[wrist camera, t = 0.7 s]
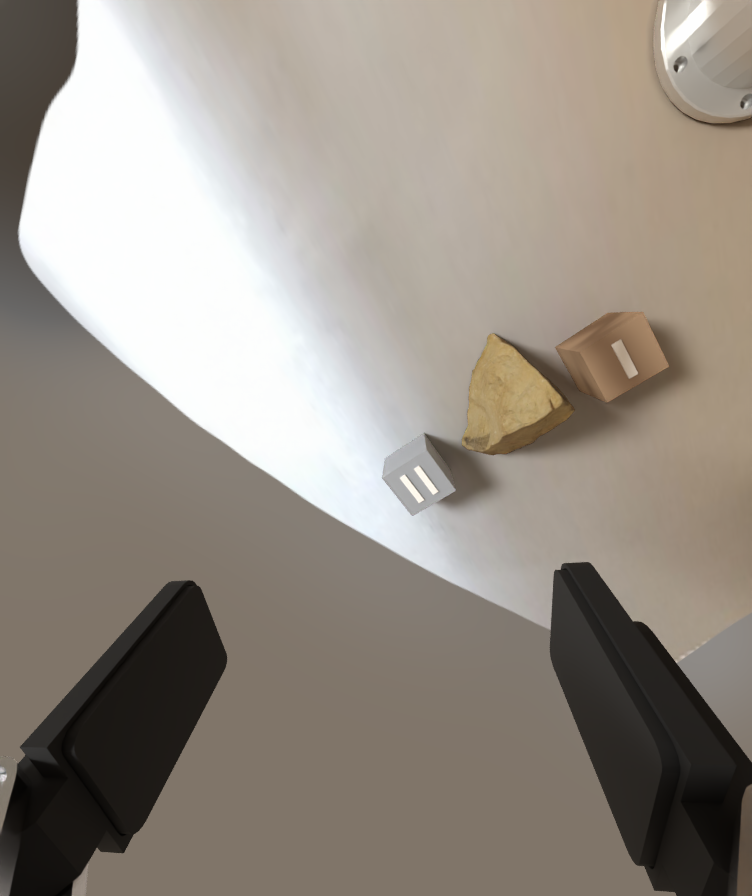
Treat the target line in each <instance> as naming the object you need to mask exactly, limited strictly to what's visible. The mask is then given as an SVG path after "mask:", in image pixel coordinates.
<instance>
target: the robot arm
mask: <svg viewBox="0 0 752 896" xmlns="http://www.w3.org/2000/svg"><path fill="white" fill-rule="evenodd" d="M653 51H654V59H655V67H656V71H657V74H658V77H659V80H660V83H661V86H662V88H663V89H664V91H665V93H666V94H667V96H668V97H669V99H670V101H671V102H672V103H673V104H674V105H675V106H676V107H677V108H679V109H680V110H681V111H682V112H683V113H685V114H687V115H689V116H690V117H692V118H694V119H696V120H700V121H704V122H709V123H732V122H736V121H741V120H745V119H749V118H751V117H752V0H659V2H658V8H657V13H656V18H655V23H654V39H653ZM550 656H551V660H552V664H553V667H554V670H555V672H556V674H557V677H558V679H559V682H560V685H561V687H562V689H563V692H564V694H565V697H566V699H567V702H568V704H569V707H570V709H571V712H572V714H573V717H574V719H575V722H576V724H577V727H578V729H579V732H580V734H581V737H582V739H583V742H584V744H585V746H586V749H587V751H588V754H589V756H590V759H591V761H592V764H593V766H594V769H595V771H596V774H597V776H598V779H599V781H600V784H601V786H602V789H603V791H604V794H605V796H606V798H607V801H608V804H609V806H610V808H611V811H612V814H613V816H614V818H615V821H616V823H617V826H618V828H619V831H620V833H621V836H622V838H623V841H624V843H625V846H626V848H627V850H628V853H629V855H630V856H631V858H632V860H633V862H634V863H635V864H636V865H638V866H644V867H645V869H646V872H647V874H648V876H649V878H650V881H651V883H652V886H653V888H654V890H655V891H669V892H675V893H676V895H677V896H752V762H751V761H750V760H749V758H748V757H747V756H746V755H745V753H744V752H743V751H742V749H741V748H740V747H739V745H738V744H737V743H736V741H735V740H734V739H733V738H732V736H731V735H730V733H729V732H728V731H727V729H726V728H725V727H724V725H723V724H722V723H721V721H720V720H719V719H718V718H717V716H716V715H715V714H714V712H713V711H712V710H711V708H710V707H709V706H708V704H707V703H706V702H705V700H704V699H703V698H702V697H701V695H700V694H699V692H698V691H697V690H696V689H695V687H694V686H693V685H692V683H691V682H690V681H689V679H688V678H687V677H686V675H685V674H684V673H683V671H682V670H681V669H680V667H679V666H678V665H677V663H676V662H675V661H674V659H673V658H672V657H671V655H670V654H669V653H668V652H667V650H666V649H665V648H664V646H663V645H662V644H661V642H660V641H659V640H658V638H657V637H656V636H655V634H654V633H653V632H652V631H651V630H650V629H649V627H648V626H647V625H645V624H644V623H642V622H637V621H634V622H633V621H632V620H631V618H630V617H629V615H628V614H627V613H626V611H625V610H624V608H623V607H622V606H621V604H620V603H619V601H618V600H617V599H616V597H615V596H614V595H613V593H612V592H611V590H610V589H609V588H608V586H607V585H606V583H605V582H604V581H603V579H602V578H601V576H600V575H599V574H598V572H597V571H596V570H595V568H594V567H593V566H592V565H591V563H589V562H582V563H564V564H562V566H561V570H555V571H554V581H553V599H552V618H551V638H550ZM226 664H227V654H226V651H225V649H224V646H223V644H222V641H221V639H220V636H219V634H218V631H217V628H216V626H215V623H214V621H213V618H212V616H211V613H210V610H209V608H208V605H207V603H206V600H205V598H204V595H203V593H202V590H201V588H200V587H199V586H197V585H196V584H195V582H193V581H171V582H169V583H168V584H166V585H165V586H164V587H163V589H162V590H161V591H160V592H159V593H158V594H157V595H156V596H155V597H154V599H153V600H152V601H151V602H150V603H149V604H148V605H147V606H146V607H145V609H144V610H143V611H142V612H141V613H140V614H139V615H138V616H137V617H136V619H135V620H134V621H133V622H132V623H131V624H130V625H129V626H128V627H127V629H126V630H125V631H124V632H123V633H122V634H121V635H120V636H119V637H118V639H117V640H116V641H115V642H114V643H113V644H112V645H111V647H109V649H108V650H107V651H106V652H105V653H104V654H103V655H102V656H101V657H100V659H99V660H98V661H97V662H96V663H95V664H94V665H93V666H92V668H91V669H90V670H89V671H88V672H87V673H86V674H85V675H84V676H83V677H82V679H81V680H80V681H79V682H78V683H77V684H76V686H74V688H73V689H72V690H71V691H70V692H69V693H68V694H67V695H66V696H65V698H64V699H63V700H62V701H61V702H60V703H59V704H58V705H57V706H56V708H55V709H54V710H53V711H52V712H51V713H50V714H49V715H48V716H47V718H46V719H45V720H44V721H43V722H42V723H41V724H40V725H39V726H38V728H37V729H36V730H35V731H34V732H33V733H32V734H31V735H30V736H29V738H28V739H27V740H26V741H25V742H24V743H23V744H22V745H21V747H20V748H21V749H22V751H23V752H24V753H25V757H24V758H23V759H22V760H21V761H20V762H19V763H17V762H16V761H15V760H14V758H12V757H6V756H3V757H0V896H86V885H87V873H88V861H89V860H90V858H91V857H92V855H93V853H94V851H95V850H96V848H98V849H99V850H100V851H101V852H114V853H124V852H125V850H126V848H127V846H128V844H129V842H130V840H131V838H132V837H133V835H134V834H135V833H136V832H138V831H139V830H140V829H141V827H142V826H143V825H144V823H145V821H146V820H147V818H148V816H149V814H150V812H151V810H152V808H153V806H154V804H155V802H156V800H157V799H158V797H159V795H160V793H161V791H162V789H163V787H164V785H165V783H166V781H167V779H168V777H169V776H170V773H171V772H172V769H173V768H174V765H175V764H176V762H177V760H178V758H179V756H180V754H181V753H182V750H183V749H184V747H185V745H186V743H187V741H188V739H189V737H190V735H191V733H192V731H193V729H194V728H195V726H196V724H197V722H198V720H199V718H200V716H201V714H202V712H203V710H204V708H205V706H206V704H207V703H208V701H209V699H210V697H211V695H212V693H213V691H214V689H215V687H216V685H217V683H218V681H219V680H220V678H221V676H222V674H223V672H224V670H225V667H226Z"/></svg>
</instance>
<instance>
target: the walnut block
mask: <svg viewBox="0 0 752 896" xmlns="http://www.w3.org/2000/svg"><path fill="white" fill-rule="evenodd" d="M555 348H556V350H557V352H558V353H559V355H560V357H561V359H562V361H563V362H564V364H565V366H566V368H567V369H568V371H569V373H570V375H571V377H572V378H573V380H574V382H575V384H576V385H577V387H578V389H579V391H581V392H583V393H586V394H588V395H590V396H593V397H595V398H597V399H600V400H602V401H605V402H609V401H611V400H613V399H614V398H616V397H618V396H619V395H621V394H623V393H625V392H626V391H628V390H630V389H631V388H633V387H635V386H637V385H638V384H640V383H642V382H643V381H645V380H647V379H649V378H650V377H652V376H654V375H655V374H657V373H659V372H661V371H662V370H664V369H666V368H668V367H669V365H668V363H667V361H666V359H665V357H664V354H663V352H662V350H661V348H660V346H659V344H658V342H657V340H656V338H655V336H654V334H653V332H652V330H651V327H650V325H649V323H648V321H647V319H646V317H645V315H644V313H643V312H620V313H607V314H605V315H604V316H602V317H601V318H599V319H598V320H596V321H595V322H593V323H592V324H590V325H589V326H587V327H585V328H584V329H582V330H581V331H579V332H578V333H576V334H575V335H573V336H572V337H570V338H569V339H567V340H566V341H564V342H562V343H561V344H559V345H558V346H556V347H555Z"/></svg>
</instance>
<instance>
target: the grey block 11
mask: <svg viewBox="0 0 752 896" xmlns="http://www.w3.org/2000/svg"><path fill="white" fill-rule="evenodd" d="M382 479H383V480H384V481H385V482H386V484H387V485H388V486H389V487H390V489H391V490H392V491H393V493H394V494H395V495H396V496H397V498H398V499H399V500H400V501H401V503H402V504H403V505H404V506H405V508H406V509H407V510H408V512H409V513H410V514H411V515H412V516H414V515H415V514H417V513H419V512H420V511H422V510H424V509H426V508H427V507H429V506H431V505H432V504H434V503H436V502H438V501H439V500H441V499H443V498H444V497H446V496H448V495H450V494H451V493H453V492H455V491H456V488H455V485H454V481H453V478H452V474H451V471H450V468H449V467H448V466H447V464H446V463H445V462H444V460H443V459H442V457H441V456H440V455H439V453H438V452H437V450H436V449H435V448H434V446H433V445H432V444H431V442H430V441H429V439H428V438H427V437H426V435H425V434H424V433H423V434H422V435H420V436H418V437H417V438H415V439H414V440H412V441H411V442H409V443H408V444H406V445H405V446H403V447H402V448H400V449H399V450H397V451H396V452H394V453H392V454H391V455H389V456H388V457H386V458H385V462H384V469H383V475H382Z"/></svg>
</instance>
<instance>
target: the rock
mask: <svg viewBox="0 0 752 896" xmlns="http://www.w3.org/2000/svg"><path fill="white" fill-rule="evenodd" d="M574 411H575V409H574V407H573V406H572V405H571V404H570V403H569V401H568V400H567V398H566V397H565V396H564V395H563V393H562V392H561V391H560V390H559V389H558V388H557V387H556V386H555V385H554V384H553V383H552V382H551V381H550V380H549V379H548V378H546V377H545V376H544V375H543V374H541V373H540V372H539V371H538V370H537V369H536V368H535V367H534V366H533V365H531V364H530V363H529V362H528V361H527V360H526V358H524V357H523V356H522V355H521V354H520V353H519V352H518V350H517V349H516V348H515V347H514V346H512V345H511V344H510V343H509V342H507V341H505V340H504V339H501V338H500V337H498V336H496V335H495V334H494V333H493V334H490V335H489V336H488V338H487V345H486V347H485V349H484V351H483V353H482V355H481V357H480V359H479V360H478V362H477V364H476V367H475V369H474V370H473V371H472V380H471V383H470V387H469V409H468V411H467V418H468V427H467V429H466V431H465V434H464V436H463V438H462V446H464V447H465V448H466V449H468V450H473V451H476V452H481V453H485V454H489V455H495V454H500V453H501V454H507V453H510V452H512V451H514V450H515V449H518V448H522V447H523V446H526V445H528V444H531V443H533V442H534V441H535V440H536V439H537V438H538V437H539V436H541V435H543V434H545V433H547V432H549V431H550V430H552V429H553V428H555V427H556V426H558V425H559V424H560V423H562V422H564V421H566V420H567V419H568V418H569V417H570V416H571V414H572V413H573V412H574Z"/></svg>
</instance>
